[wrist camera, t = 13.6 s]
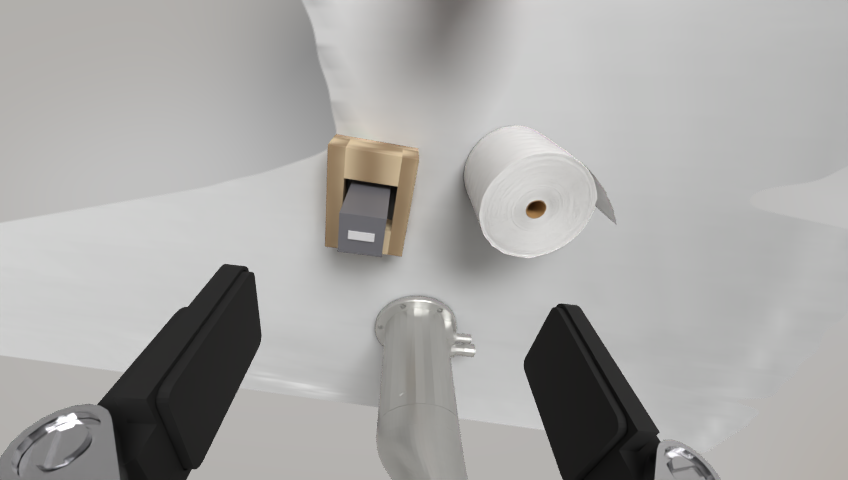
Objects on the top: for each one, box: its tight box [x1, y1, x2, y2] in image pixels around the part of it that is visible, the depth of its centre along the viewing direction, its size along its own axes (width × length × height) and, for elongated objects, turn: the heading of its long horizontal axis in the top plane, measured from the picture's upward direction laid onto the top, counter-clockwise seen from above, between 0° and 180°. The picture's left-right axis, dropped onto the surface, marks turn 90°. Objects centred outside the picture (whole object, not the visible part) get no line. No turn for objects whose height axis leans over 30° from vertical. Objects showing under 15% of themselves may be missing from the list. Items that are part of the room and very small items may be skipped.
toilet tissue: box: [464, 126, 616, 258], centre depth 33 cm, size 11×12×10 cm
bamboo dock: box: [325, 134, 419, 256], centre depth 36 cm, size 9×12×4 cm
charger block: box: [338, 180, 391, 257], centre depth 33 cm, size 4×4×9 cm
